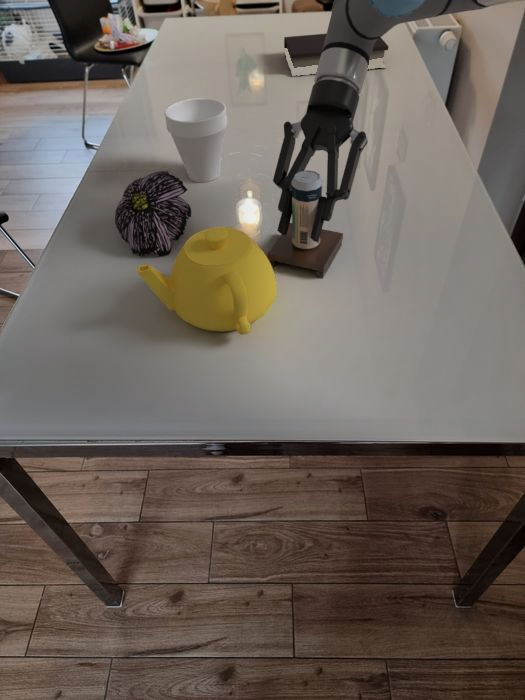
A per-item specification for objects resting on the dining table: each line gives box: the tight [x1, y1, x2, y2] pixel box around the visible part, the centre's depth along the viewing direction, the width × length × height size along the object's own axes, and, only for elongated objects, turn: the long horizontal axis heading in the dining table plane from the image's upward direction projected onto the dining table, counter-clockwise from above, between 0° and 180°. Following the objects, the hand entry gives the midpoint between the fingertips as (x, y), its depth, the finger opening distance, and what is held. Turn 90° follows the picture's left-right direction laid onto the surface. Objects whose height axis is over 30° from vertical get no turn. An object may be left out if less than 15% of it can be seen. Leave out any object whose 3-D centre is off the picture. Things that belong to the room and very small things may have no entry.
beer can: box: [291, 169, 323, 249], centre depth 80 cm, size 5×5×12 cm
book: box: [283, 33, 389, 68], centre depth 152 cm, size 28×20×6 cm
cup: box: [164, 97, 228, 183], centre depth 103 cm, size 12×12×14 cm
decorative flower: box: [114, 170, 192, 258], centre depth 89 cm, size 15×12×15 cm
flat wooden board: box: [266, 222, 344, 279], centre depth 85 cm, size 10×10×2 cm
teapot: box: [136, 226, 278, 335], centre depth 73 cm, size 20×19×13 cm
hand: (297, 236), depth 79 cm, fingers closed on beer can, 5 cm apart
